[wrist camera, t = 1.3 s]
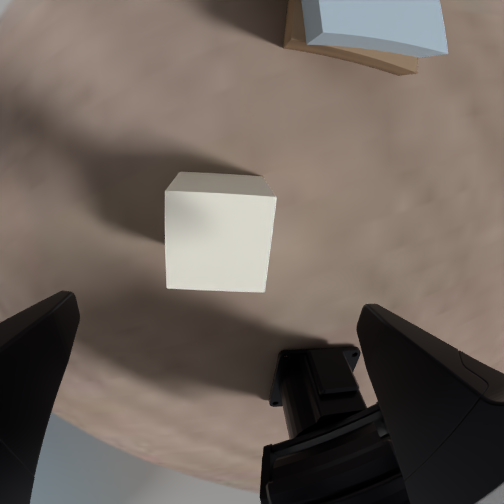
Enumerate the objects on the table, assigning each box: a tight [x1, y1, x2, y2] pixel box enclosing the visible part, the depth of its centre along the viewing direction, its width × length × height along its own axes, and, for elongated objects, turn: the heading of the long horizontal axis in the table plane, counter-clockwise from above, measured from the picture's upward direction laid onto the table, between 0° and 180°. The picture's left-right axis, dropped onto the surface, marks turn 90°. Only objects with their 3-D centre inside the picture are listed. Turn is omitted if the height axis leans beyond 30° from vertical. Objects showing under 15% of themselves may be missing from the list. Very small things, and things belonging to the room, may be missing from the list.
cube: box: [165, 172, 277, 292], centre depth 15 cm, size 4×4×4 cm
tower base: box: [283, 0, 418, 76], centre depth 12 cm, size 7×7×2 cm
